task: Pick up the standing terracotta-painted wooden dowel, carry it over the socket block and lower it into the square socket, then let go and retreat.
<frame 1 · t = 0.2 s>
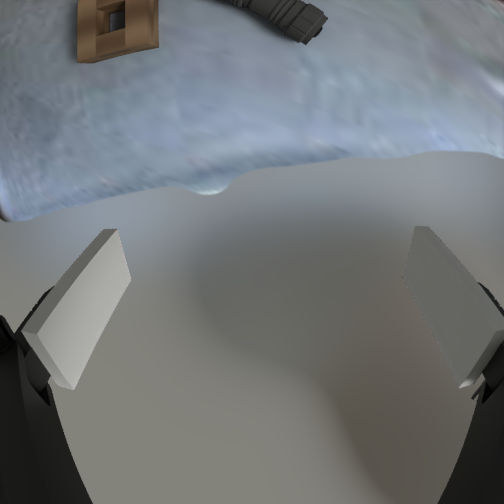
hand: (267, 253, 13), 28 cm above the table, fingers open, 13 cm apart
flashlight: (261, 4, 27), on the table
socket block: (123, 22, 28), on the table
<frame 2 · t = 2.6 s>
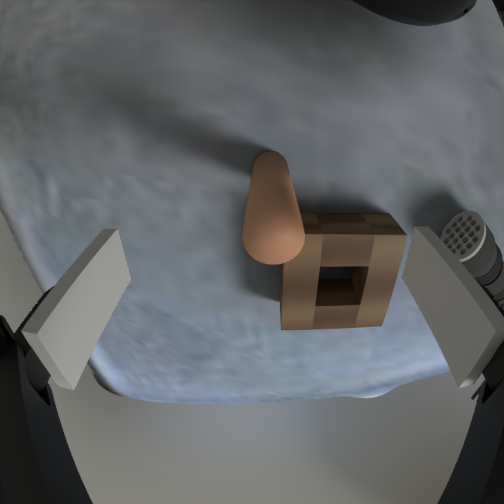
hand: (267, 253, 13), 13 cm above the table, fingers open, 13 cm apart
flashlight: (475, 256, 27), on the table
socket block: (333, 261, 28), on the table
peg: (270, 167, 24), on the table
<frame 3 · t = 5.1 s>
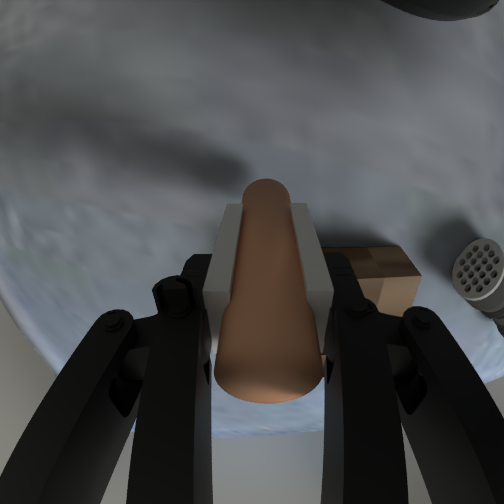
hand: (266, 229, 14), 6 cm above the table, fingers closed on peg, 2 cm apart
flashlight: (488, 283, 24), on the table
socket block: (332, 300, 24), on the table
peg: (266, 201, 18), point 2 cm above the table, touching gripper
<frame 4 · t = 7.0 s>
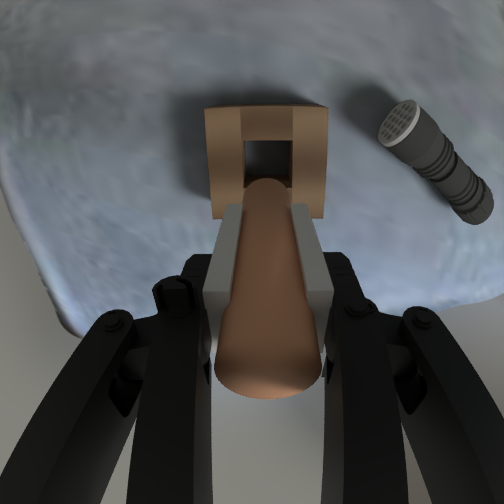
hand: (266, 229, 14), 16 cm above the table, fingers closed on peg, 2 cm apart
flashlight: (430, 160, 27), on the table
socket block: (267, 154, 28), on the table
peg: (266, 200, 18), point 12 cm above the table, touching gripper
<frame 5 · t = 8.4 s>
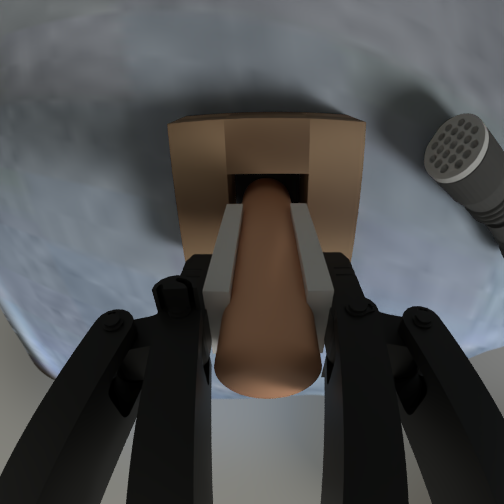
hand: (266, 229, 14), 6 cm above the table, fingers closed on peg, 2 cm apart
flashlight: (481, 192, 19), on the table
socket block: (267, 187, 20), on the table
peg: (266, 200, 18), point 2 cm above the table, touching gripper
when the fingers open (5 cm above the table, at t = 9.4 s): peg drops 2 cm, resting in socket block.
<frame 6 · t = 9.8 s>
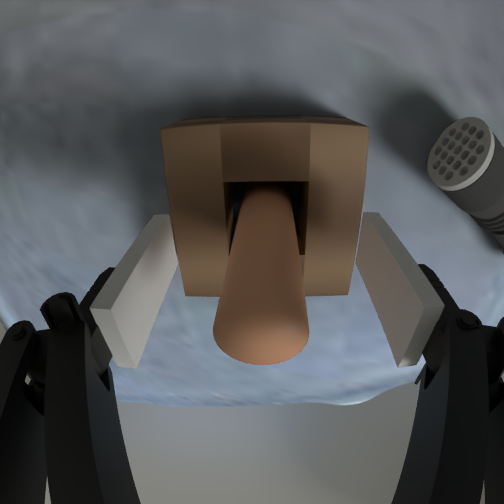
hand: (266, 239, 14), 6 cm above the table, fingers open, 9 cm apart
flashlight: (485, 197, 18), on the table
socket block: (265, 193, 19), on the table
peg: (267, 192, 19), resting in socket block
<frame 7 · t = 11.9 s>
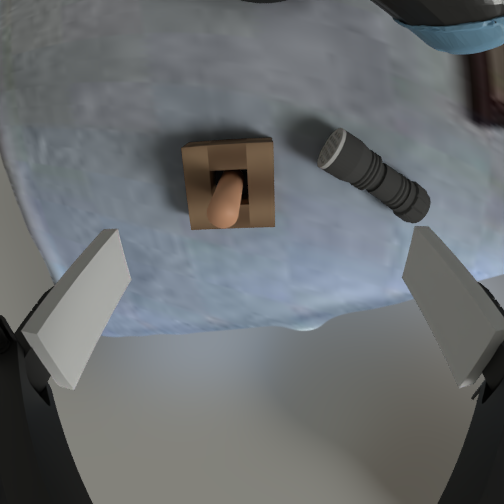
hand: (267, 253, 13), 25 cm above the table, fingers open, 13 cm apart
flashlight: (369, 172, 36), on the table
socket block: (232, 178, 37), on the table
peg: (232, 177, 37), resting in socket block
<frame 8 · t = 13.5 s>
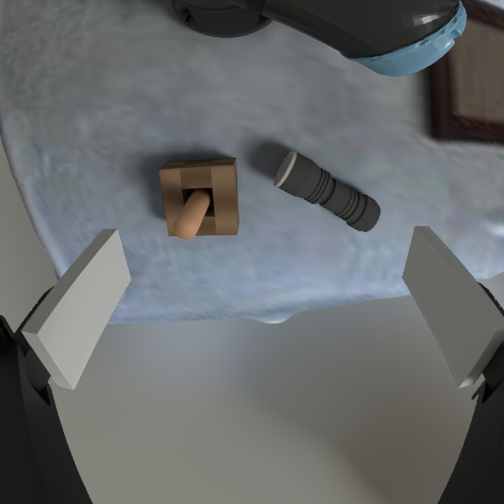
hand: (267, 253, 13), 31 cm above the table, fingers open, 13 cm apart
flashlight: (324, 186, 43), on the table
socket block: (203, 192, 43), on the table
peg: (204, 192, 43), resting in socket block
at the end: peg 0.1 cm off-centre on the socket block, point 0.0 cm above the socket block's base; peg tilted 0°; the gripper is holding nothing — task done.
